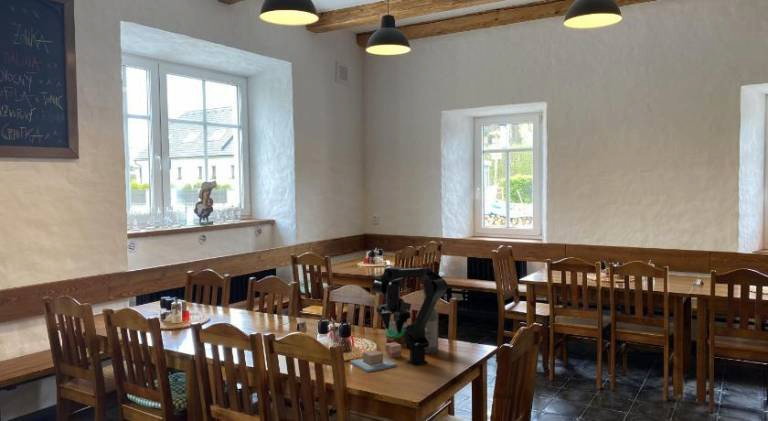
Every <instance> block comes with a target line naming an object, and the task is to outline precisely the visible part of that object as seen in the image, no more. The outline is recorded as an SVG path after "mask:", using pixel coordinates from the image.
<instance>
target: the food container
mask: <svg viewBox="0 0 768 421" xmlns="http://www.w3.org/2000/svg"><path fill="white" fill-rule="evenodd" d="M407 325H409V322H408V321H405V322H404V324H403V327H402V330H401V333H400V334H398V332H397V329H396V325H395V321H390V322H389V329H386V327H385V325H384V324H383V326H384V327H385V336H386V344H388V343H393V342H395V343H398V344H400V345H403V344H405V340H404V334H405V333H404V332H405V330H406V327H407Z"/></svg>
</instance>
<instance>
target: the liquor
mask: <svg viewBox="0 0 768 421" xmlns="http://www.w3.org/2000/svg"><path fill="white" fill-rule="evenodd" d="M422 290H423V301H424V300H425V298H426V293H425V290H426V288H425V286H424V285H423V284H422ZM419 311H420V309H419V310H418V311H417V314H416V315H415V317H416V318H417V315H418V313H419ZM416 318H415V319H416ZM425 332H426V333H425V337H426V339H427V340H428V342H429V346H428V347H426V348H424V349H425V354H434V353H437V350H438V348H439V313H438V311H437V310H436V309H435V308H434V309H433V311H432V313H431V315H430V317H429V319H428V322H427V324H426V326H425ZM417 344H419V343H416V344H415V345H417Z"/></svg>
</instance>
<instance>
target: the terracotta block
mask: <svg viewBox="0 0 768 421" xmlns="http://www.w3.org/2000/svg"><path fill="white" fill-rule="evenodd" d="M384 348H385V349H384V350H385V351H384V352H385V353H384V354H385V356H386V357H389V358H390V359H393V358H397V357H398V358H399V357H402V344H398V343H395V342H393V343H385V344H384Z"/></svg>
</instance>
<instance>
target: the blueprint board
mask: <svg viewBox="0 0 768 421" xmlns="http://www.w3.org/2000/svg"><path fill="white" fill-rule="evenodd" d="M349 364H351V365H353V366H355V367H356V368H359V369H360V370H362V371H364V372H366V373H369V372H370V373H371V372H376V371H380V370H384V369H389V368H393V367H394V368H395V367H397V363H396V362H393V361H391V360H390V359H388V358H386V357H384V353H382V352H381V351H378V350H377V349H372V350H368V351H363V352H362V358H358V359H357V358H356V359H351V360H349Z"/></svg>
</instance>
